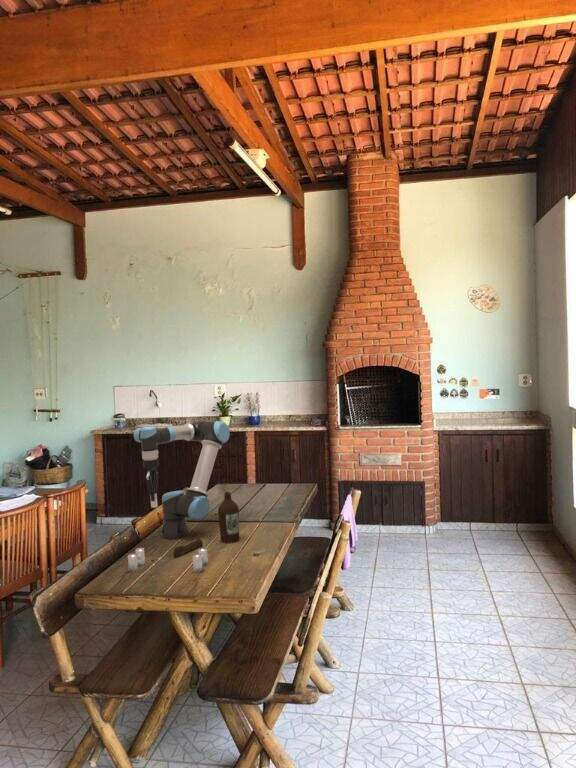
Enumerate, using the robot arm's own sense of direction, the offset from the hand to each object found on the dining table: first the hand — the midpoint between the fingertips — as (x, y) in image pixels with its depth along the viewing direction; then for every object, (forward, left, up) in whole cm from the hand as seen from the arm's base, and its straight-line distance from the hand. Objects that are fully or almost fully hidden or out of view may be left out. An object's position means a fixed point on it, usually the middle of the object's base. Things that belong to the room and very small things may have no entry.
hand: (154, 507), depth 277 cm
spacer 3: (+23, +28, -23) cm, 43 cm away
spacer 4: (+15, +28, -23) cm, 39 cm away
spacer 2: (+15, -2, -23) cm, 27 cm away
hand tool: (-2, +15, -23) cm, 28 cm away
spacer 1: (+23, -2, -23) cm, 33 cm away
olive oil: (-20, +31, -23) cm, 43 cm away
